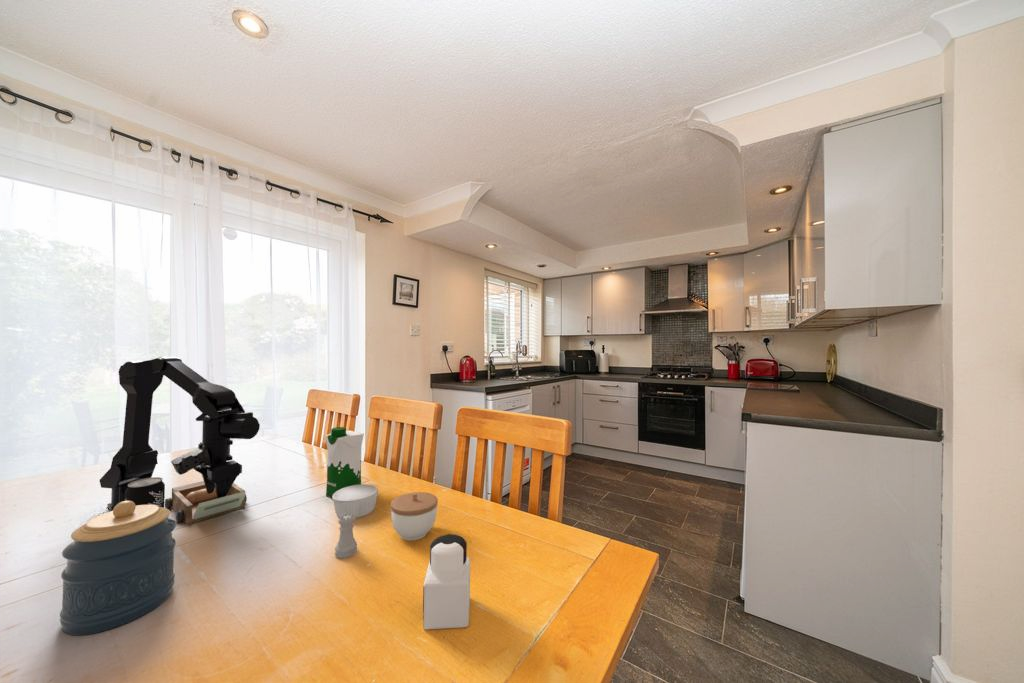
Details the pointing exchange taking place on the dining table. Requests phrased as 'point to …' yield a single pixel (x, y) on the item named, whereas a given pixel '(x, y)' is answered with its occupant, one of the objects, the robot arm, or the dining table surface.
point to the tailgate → (219, 505)
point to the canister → (117, 568)
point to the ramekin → (355, 500)
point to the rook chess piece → (346, 537)
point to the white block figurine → (447, 584)
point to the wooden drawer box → (187, 509)
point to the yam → (200, 496)
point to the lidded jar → (414, 514)
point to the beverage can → (146, 492)
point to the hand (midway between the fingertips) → (215, 497)
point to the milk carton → (343, 459)
